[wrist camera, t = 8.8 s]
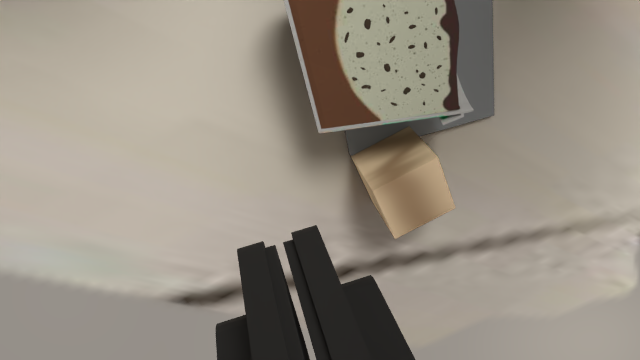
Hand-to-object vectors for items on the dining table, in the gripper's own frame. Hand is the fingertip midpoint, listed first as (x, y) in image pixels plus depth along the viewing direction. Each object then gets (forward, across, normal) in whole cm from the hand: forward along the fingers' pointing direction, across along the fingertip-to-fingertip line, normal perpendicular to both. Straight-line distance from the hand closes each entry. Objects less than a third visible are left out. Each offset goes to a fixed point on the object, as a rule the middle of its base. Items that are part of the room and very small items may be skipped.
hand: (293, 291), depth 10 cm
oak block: (+25, -10, +12) cm, 30 cm away
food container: (+24, -4, +1) cm, 24 cm away
